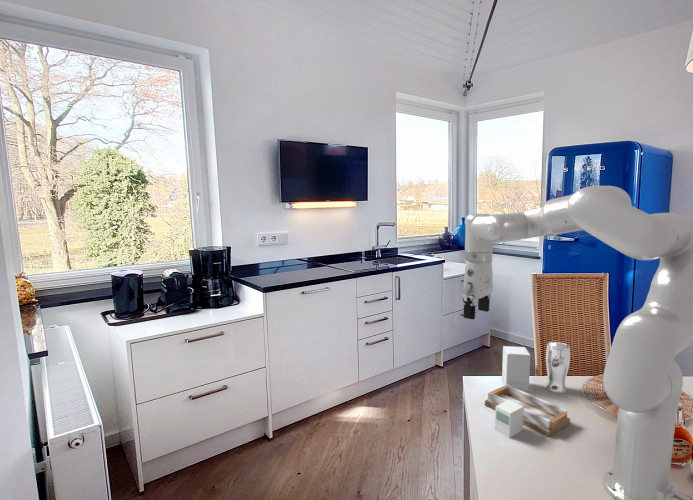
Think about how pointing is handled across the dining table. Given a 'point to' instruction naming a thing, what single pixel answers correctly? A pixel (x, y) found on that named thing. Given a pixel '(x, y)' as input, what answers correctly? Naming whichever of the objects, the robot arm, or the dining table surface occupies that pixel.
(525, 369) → the supplement box
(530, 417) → the rail board
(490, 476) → the dining table surface
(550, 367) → the beer glass
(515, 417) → the block
